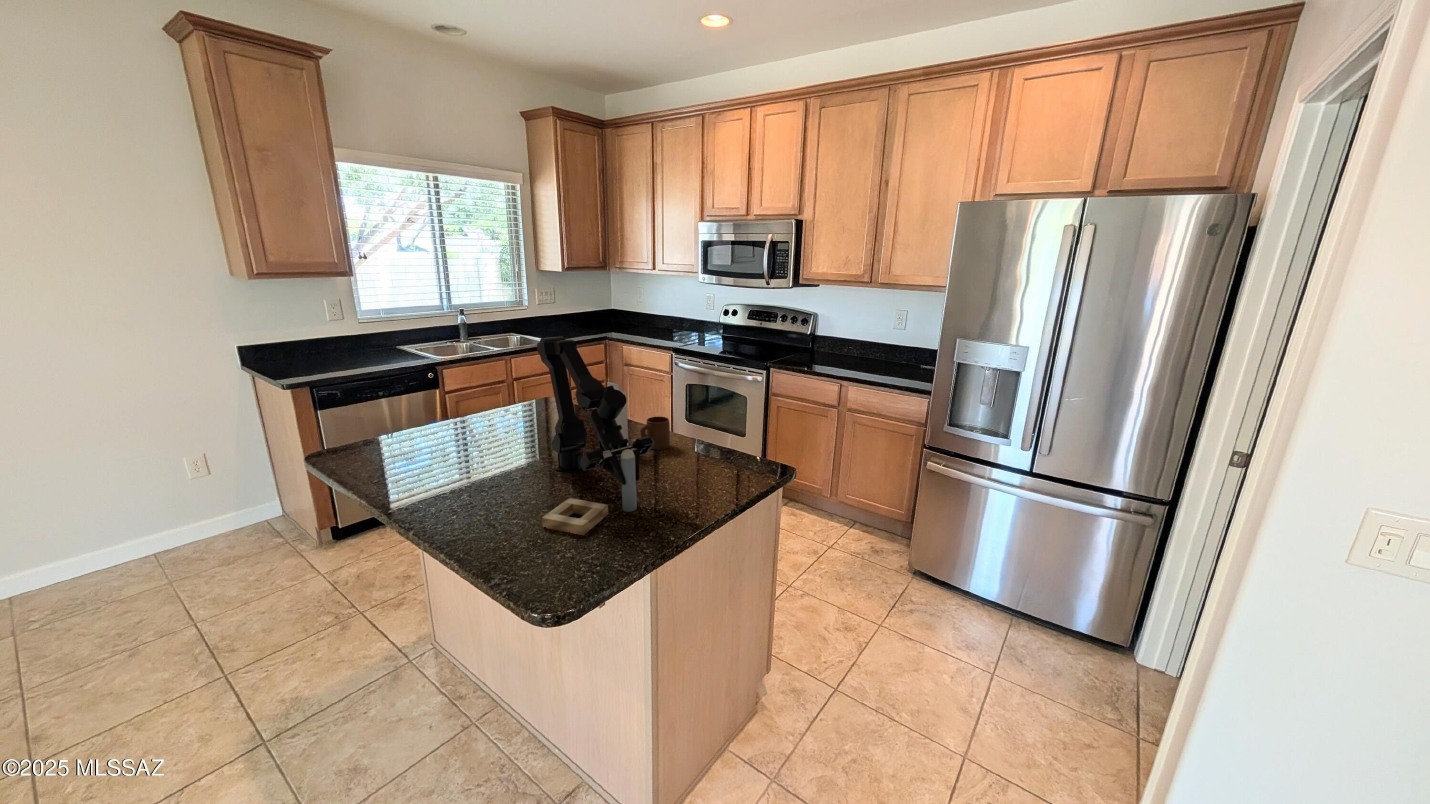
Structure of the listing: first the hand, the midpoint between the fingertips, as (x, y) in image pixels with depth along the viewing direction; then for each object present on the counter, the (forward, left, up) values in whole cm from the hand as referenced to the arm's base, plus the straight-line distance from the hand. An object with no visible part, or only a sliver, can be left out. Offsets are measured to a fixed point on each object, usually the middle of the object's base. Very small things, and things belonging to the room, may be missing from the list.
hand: (631, 482), depth 131 cm
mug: (-14, +42, -8) cm, 45 cm away
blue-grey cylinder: (-1, +1, -8) cm, 8 cm away
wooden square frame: (-10, -9, -8) cm, 16 cm away
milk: (-26, +38, -8) cm, 47 cm away
